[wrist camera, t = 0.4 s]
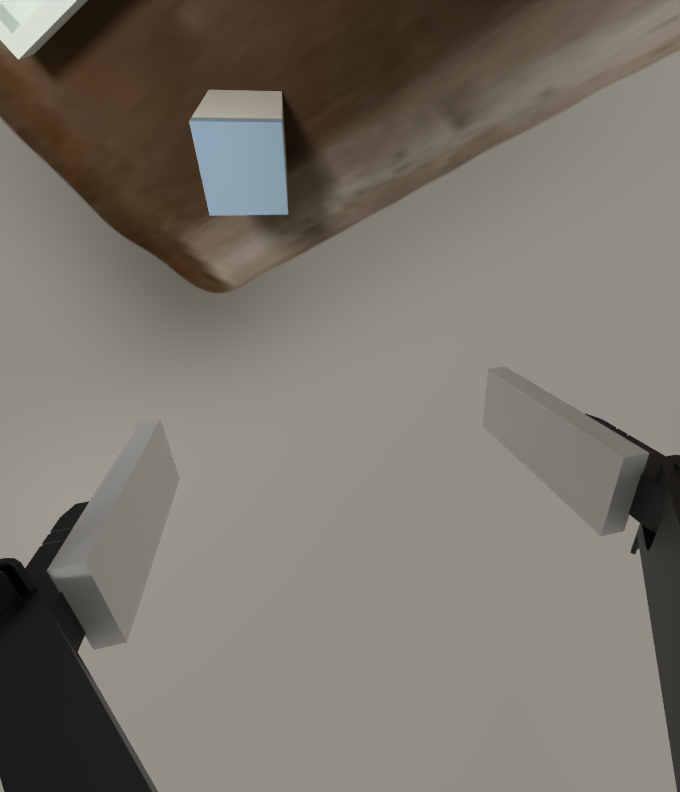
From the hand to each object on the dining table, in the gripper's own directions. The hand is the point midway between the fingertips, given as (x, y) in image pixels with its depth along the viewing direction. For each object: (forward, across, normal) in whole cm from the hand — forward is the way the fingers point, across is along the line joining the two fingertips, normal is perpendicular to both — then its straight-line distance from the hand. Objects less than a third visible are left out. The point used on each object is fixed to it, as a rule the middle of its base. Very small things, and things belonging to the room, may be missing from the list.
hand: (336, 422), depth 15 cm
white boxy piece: (+28, -2, +15) cm, 32 cm away
